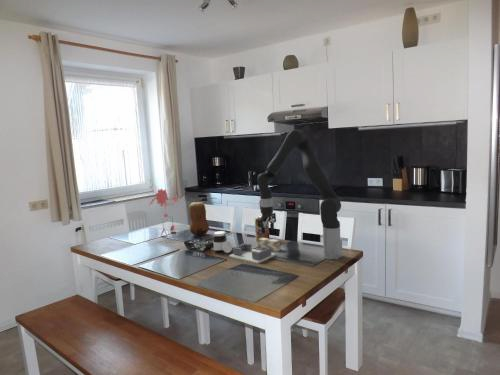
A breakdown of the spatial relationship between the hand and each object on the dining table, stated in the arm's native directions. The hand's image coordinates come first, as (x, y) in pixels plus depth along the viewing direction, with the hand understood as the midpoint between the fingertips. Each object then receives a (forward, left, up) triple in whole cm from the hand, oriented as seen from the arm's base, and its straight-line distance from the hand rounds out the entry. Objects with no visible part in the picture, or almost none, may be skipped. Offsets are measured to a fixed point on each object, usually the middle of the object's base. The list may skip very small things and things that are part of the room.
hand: (267, 231), depth 217 cm
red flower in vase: (+93, +11, -11) cm, 94 cm away
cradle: (0, +16, -11) cm, 19 cm away
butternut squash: (+64, +1, -11) cm, 65 cm away
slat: (0, 0, -11) cm, 11 cm away
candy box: (+15, -12, -11) cm, 22 cm away
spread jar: (+22, +18, -11) cm, 30 cm away
